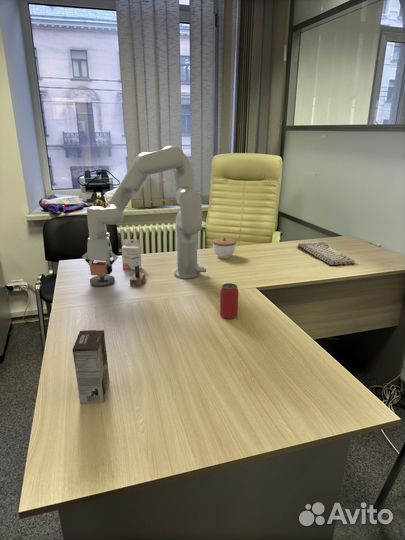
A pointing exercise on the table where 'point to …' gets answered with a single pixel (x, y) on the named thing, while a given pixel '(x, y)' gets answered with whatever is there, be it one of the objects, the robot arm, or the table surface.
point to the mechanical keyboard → (325, 254)
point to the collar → (99, 268)
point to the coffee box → (91, 366)
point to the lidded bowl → (224, 247)
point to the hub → (102, 281)
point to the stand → (137, 277)
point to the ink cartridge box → (131, 254)
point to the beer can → (229, 301)
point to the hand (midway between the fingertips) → (101, 272)
